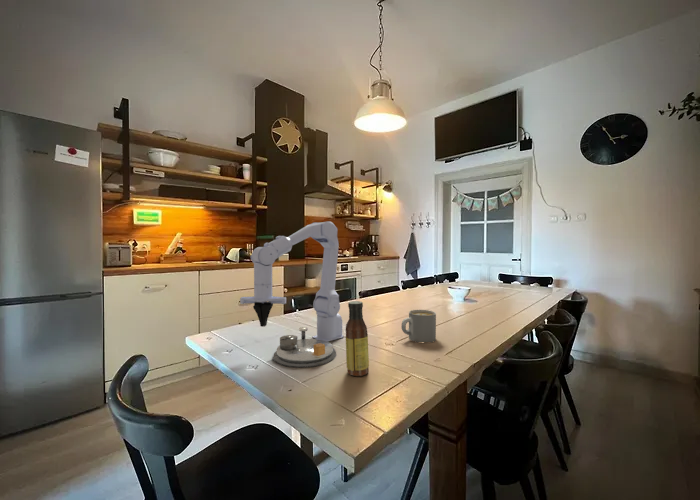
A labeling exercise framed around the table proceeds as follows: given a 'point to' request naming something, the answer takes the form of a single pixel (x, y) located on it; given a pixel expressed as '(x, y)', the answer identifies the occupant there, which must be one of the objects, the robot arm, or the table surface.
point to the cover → (288, 342)
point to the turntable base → (303, 365)
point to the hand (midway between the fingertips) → (263, 325)
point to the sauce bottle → (356, 341)
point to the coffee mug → (420, 325)
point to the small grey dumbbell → (303, 332)
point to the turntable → (307, 351)
